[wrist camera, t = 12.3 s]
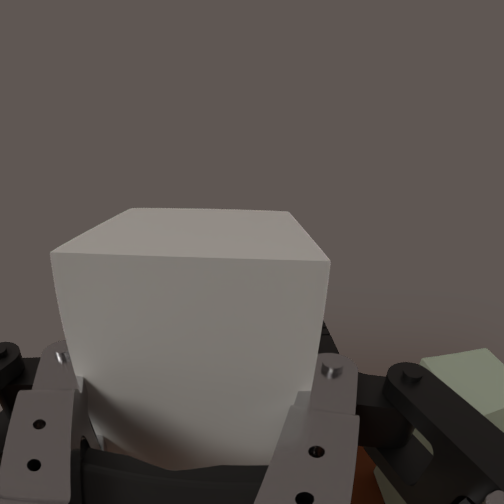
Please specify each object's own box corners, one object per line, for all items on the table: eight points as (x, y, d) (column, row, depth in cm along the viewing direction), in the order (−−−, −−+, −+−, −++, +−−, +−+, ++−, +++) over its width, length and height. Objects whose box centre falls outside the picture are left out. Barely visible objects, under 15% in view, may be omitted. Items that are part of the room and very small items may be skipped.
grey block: (268, 437, 13) (288, 211, 10) (277, 530, 8) (331, 261, 5) (158, 432, 13) (131, 207, 10) (137, 521, 8) (49, 252, 5)
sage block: (431, 457, 18) (486, 347, 15) (456, 504, 13) (534, 395, 10) (373, 471, 17) (421, 358, 14) (393, 526, 13) (469, 420, 10)
